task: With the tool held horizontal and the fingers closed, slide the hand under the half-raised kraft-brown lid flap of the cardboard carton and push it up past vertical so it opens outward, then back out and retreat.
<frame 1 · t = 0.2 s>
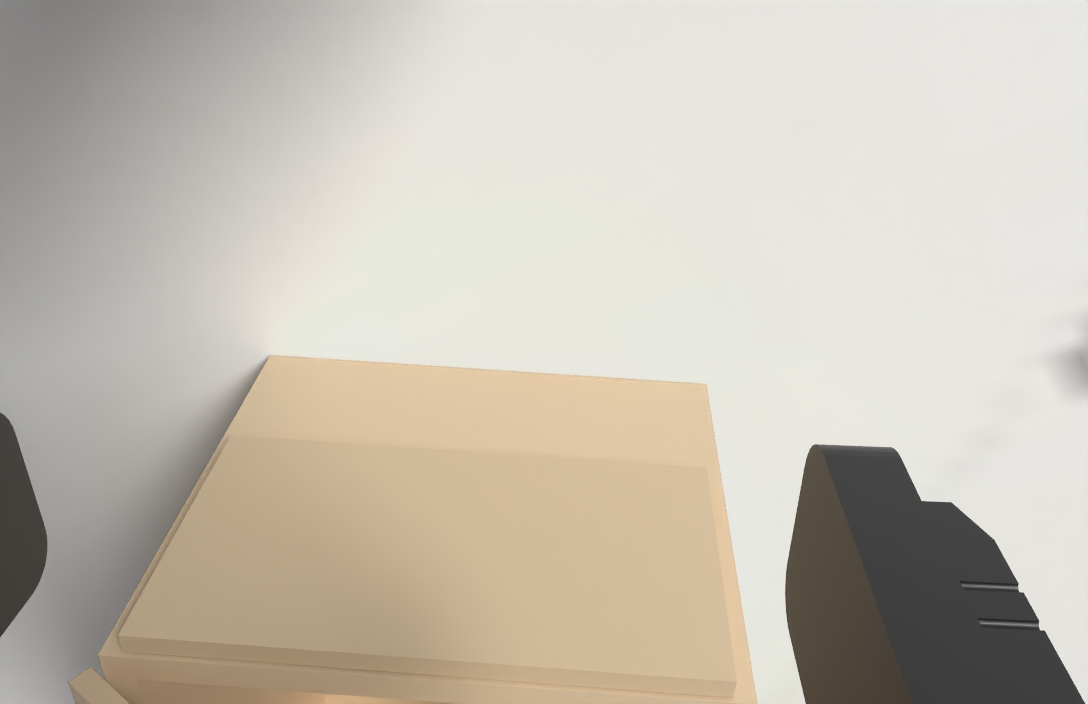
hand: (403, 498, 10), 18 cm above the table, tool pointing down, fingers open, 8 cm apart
carton: (484, 573, 35), on the table
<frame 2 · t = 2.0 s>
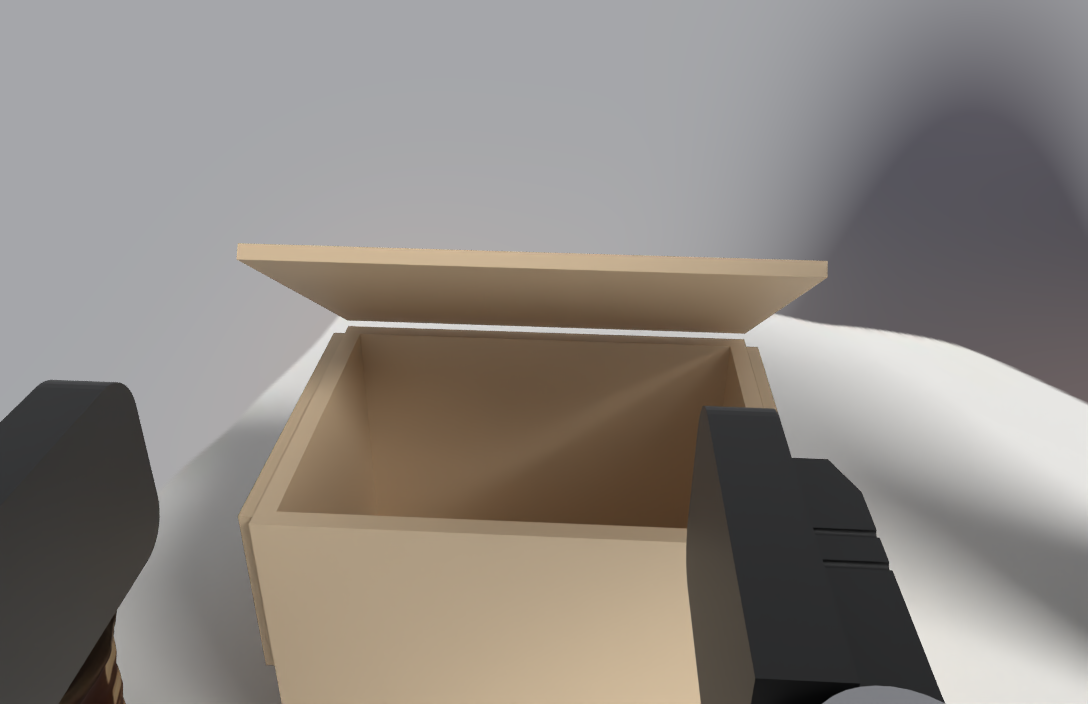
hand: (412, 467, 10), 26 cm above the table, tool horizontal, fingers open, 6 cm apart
carton: (533, 639, 42), on the table
lid flap: (538, 296, 35), point 17 cm above the table, hinge at 35.0°
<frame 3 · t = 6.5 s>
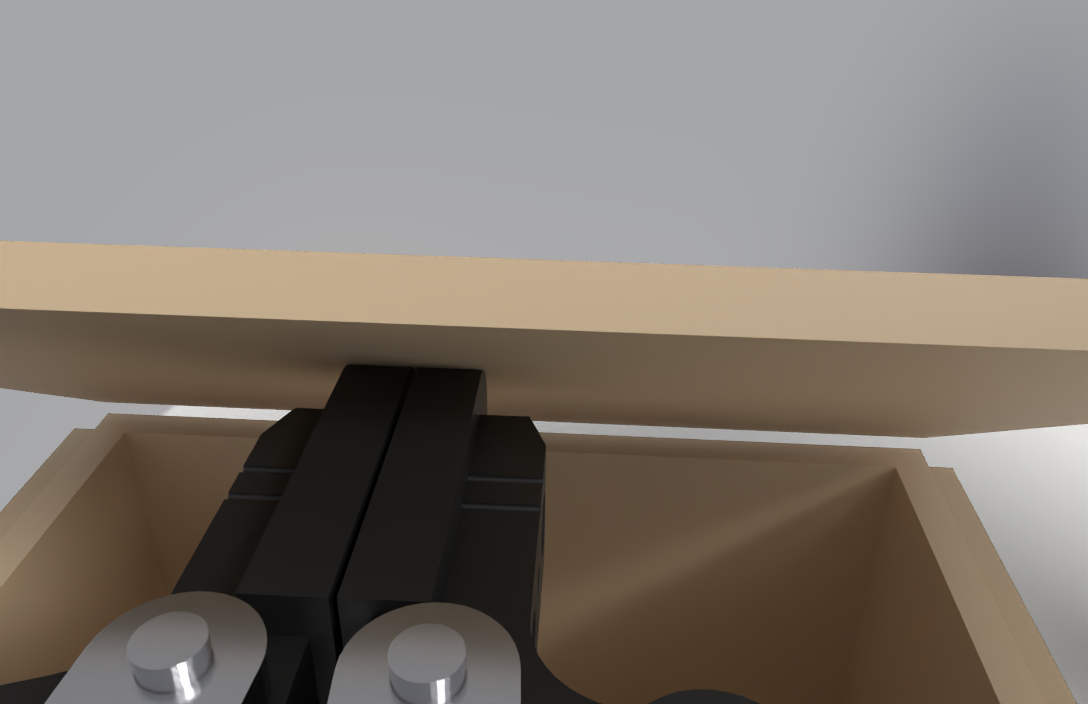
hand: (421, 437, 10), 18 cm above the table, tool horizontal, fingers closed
lid flap: (465, 378, 14), point 17 cm above the table, hinge at 36.4°, touching gripper
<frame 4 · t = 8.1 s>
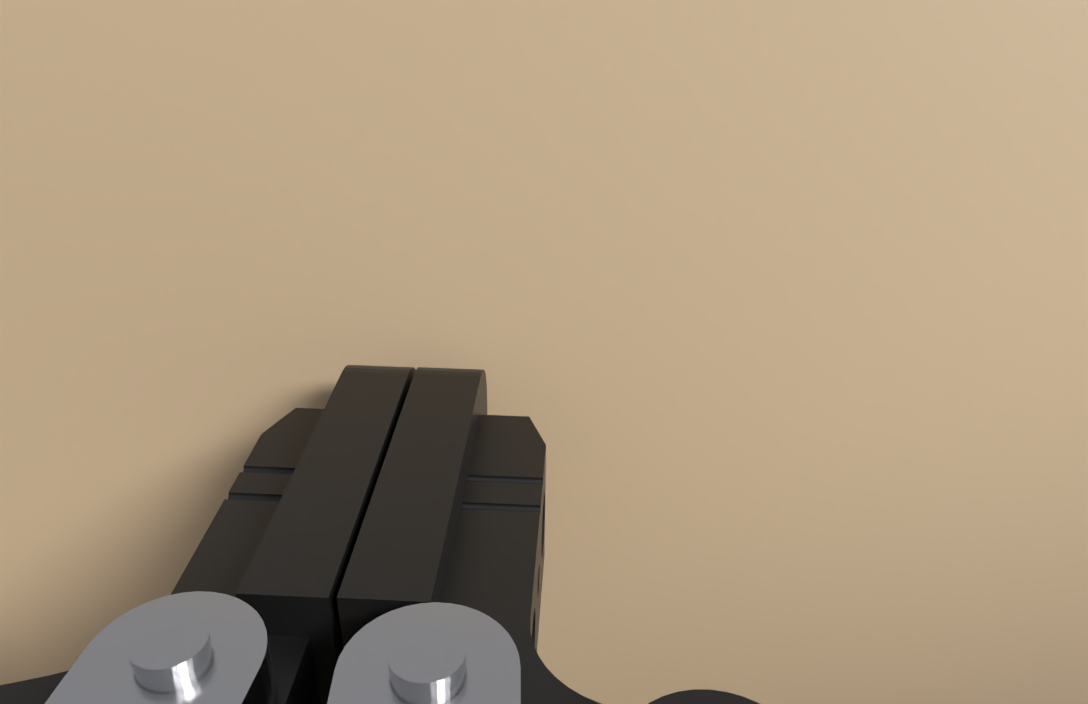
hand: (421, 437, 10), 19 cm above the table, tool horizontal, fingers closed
lid flap: (453, 444, 11), point 19 cm above the table, hinge at 105.9°, touching gripper
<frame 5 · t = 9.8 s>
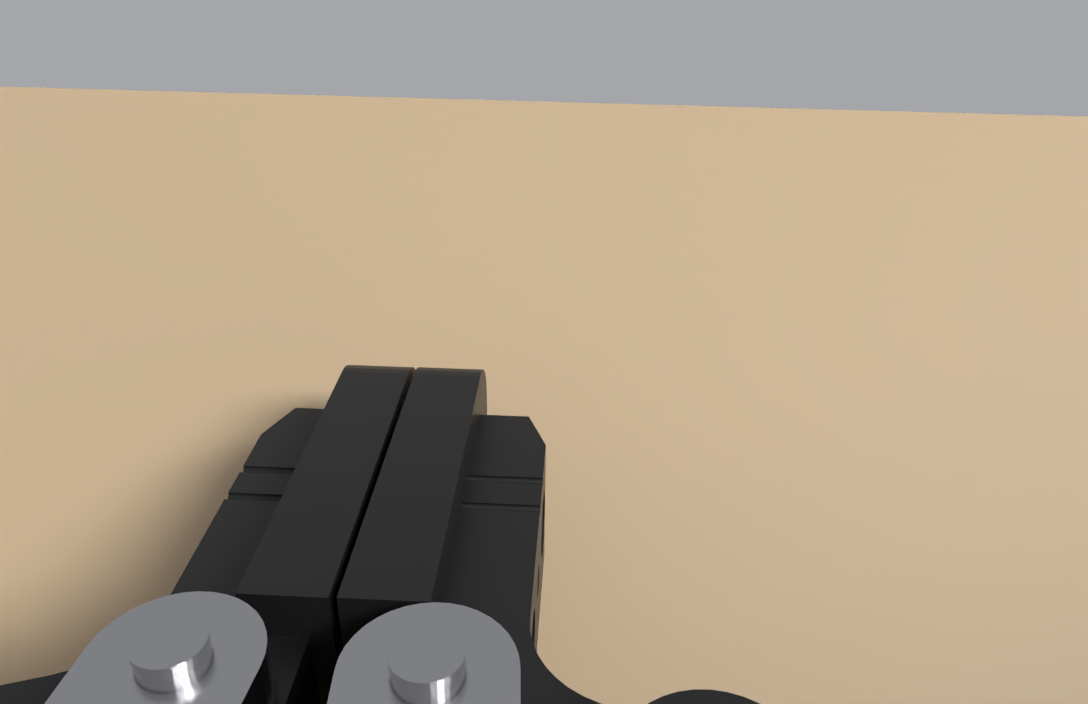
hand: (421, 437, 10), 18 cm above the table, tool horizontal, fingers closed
lid flap: (447, 611, 11), point 16 cm above the table, hinge at 143.7°, touching gripper
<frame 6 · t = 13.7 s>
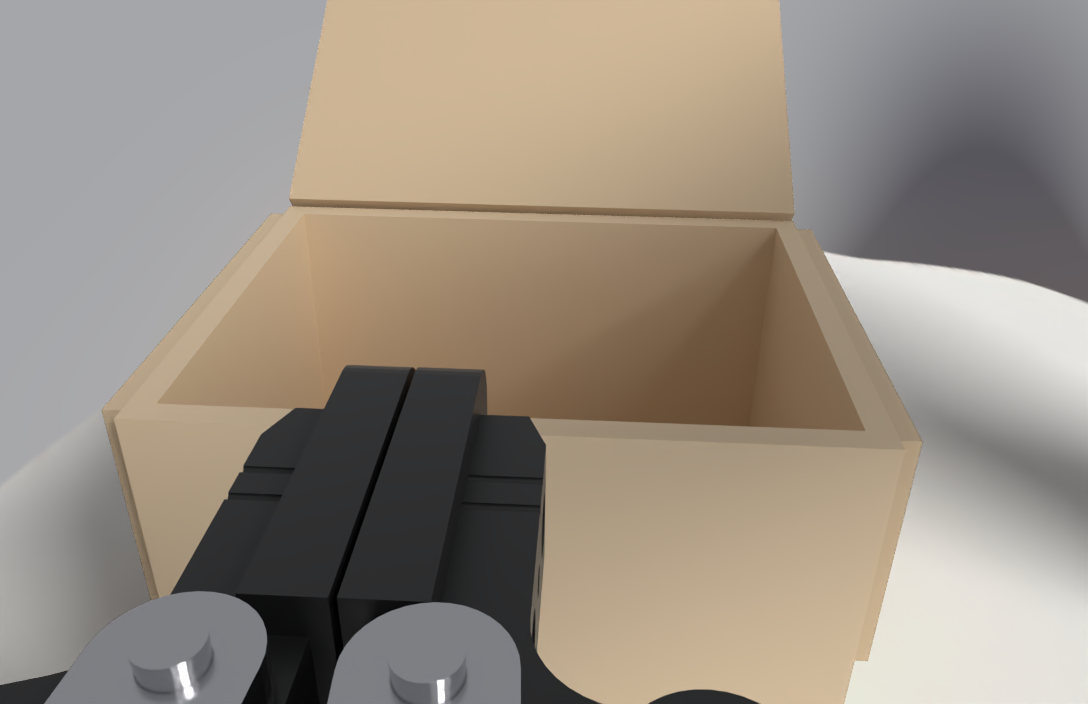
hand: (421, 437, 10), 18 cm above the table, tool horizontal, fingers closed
carton: (524, 604, 33), on the table
lid flap: (548, 57, 36), point 16 cm above the table, hinge at 143.7°
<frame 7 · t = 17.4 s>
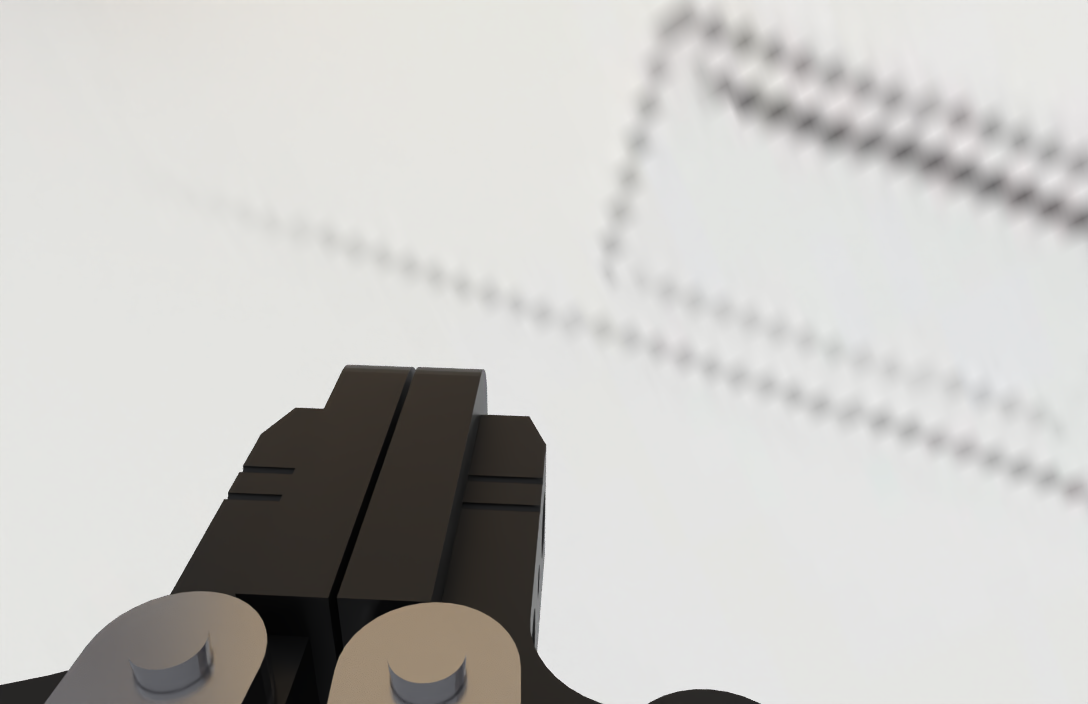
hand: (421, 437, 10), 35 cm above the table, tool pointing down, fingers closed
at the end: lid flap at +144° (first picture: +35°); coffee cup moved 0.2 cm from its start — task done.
